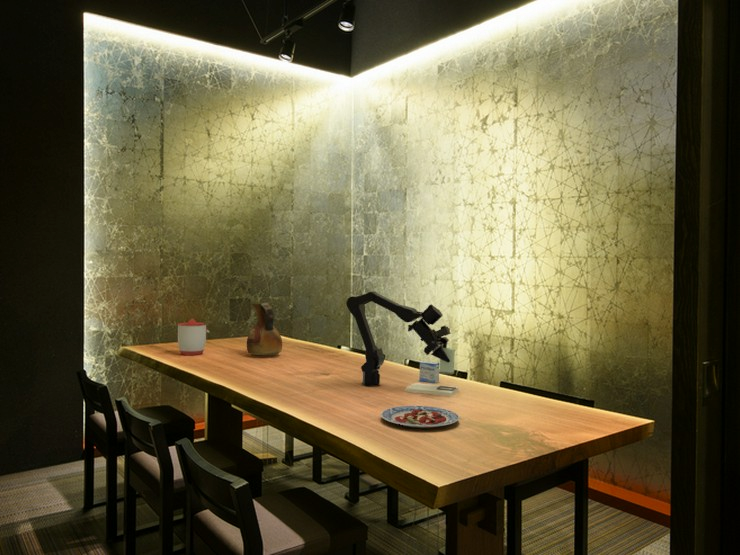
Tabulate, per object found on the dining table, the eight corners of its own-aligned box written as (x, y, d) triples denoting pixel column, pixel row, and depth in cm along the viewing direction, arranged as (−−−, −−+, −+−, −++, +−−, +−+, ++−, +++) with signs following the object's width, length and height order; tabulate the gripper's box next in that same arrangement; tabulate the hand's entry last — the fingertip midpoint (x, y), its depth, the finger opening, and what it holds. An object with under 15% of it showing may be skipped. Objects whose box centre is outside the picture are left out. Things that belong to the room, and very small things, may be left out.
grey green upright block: (439, 373, 234) (440, 348, 234) (442, 371, 238) (442, 347, 238) (451, 374, 233) (452, 349, 232) (454, 373, 236) (454, 348, 236)
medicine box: (418, 381, 258) (419, 362, 258) (422, 379, 262) (423, 360, 262) (435, 383, 254) (435, 363, 254) (439, 381, 258) (439, 362, 258)
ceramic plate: (411, 408, 209) (411, 399, 209) (473, 421, 193) (473, 412, 193) (364, 421, 190) (365, 412, 190) (429, 437, 173) (430, 428, 173)
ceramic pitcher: (270, 352, 336) (271, 300, 335) (289, 356, 320) (290, 302, 320) (240, 354, 323) (240, 301, 323) (257, 359, 308) (258, 303, 307)
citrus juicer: (212, 355, 321) (213, 319, 320) (180, 356, 312) (180, 320, 312) (205, 351, 334) (205, 316, 334) (174, 352, 326) (174, 317, 325)
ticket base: (405, 391, 236) (405, 386, 236) (414, 386, 247) (414, 381, 247) (451, 396, 228) (451, 391, 228) (458, 390, 240) (458, 385, 240)
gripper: (432, 321, 228) (459, 351, 224) (444, 317, 245) (469, 345, 241) (413, 339, 231) (439, 369, 227) (426, 335, 248) (450, 362, 244)
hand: (450, 361), depth 235 cm, fingers closed on grey green upright block, 3 cm apart
